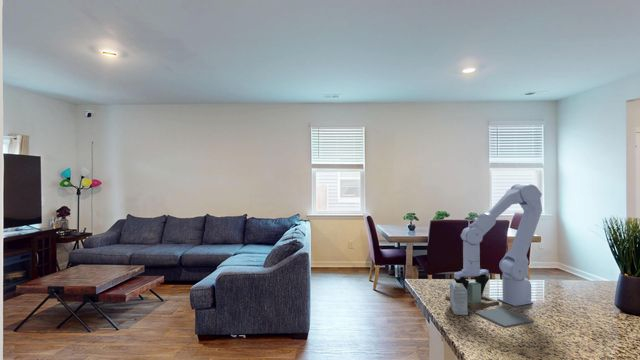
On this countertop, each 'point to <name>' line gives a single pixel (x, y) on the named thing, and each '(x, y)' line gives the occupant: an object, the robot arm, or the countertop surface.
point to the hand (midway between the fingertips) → (471, 296)
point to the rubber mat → (504, 317)
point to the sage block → (473, 292)
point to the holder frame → (481, 304)
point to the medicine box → (458, 298)
